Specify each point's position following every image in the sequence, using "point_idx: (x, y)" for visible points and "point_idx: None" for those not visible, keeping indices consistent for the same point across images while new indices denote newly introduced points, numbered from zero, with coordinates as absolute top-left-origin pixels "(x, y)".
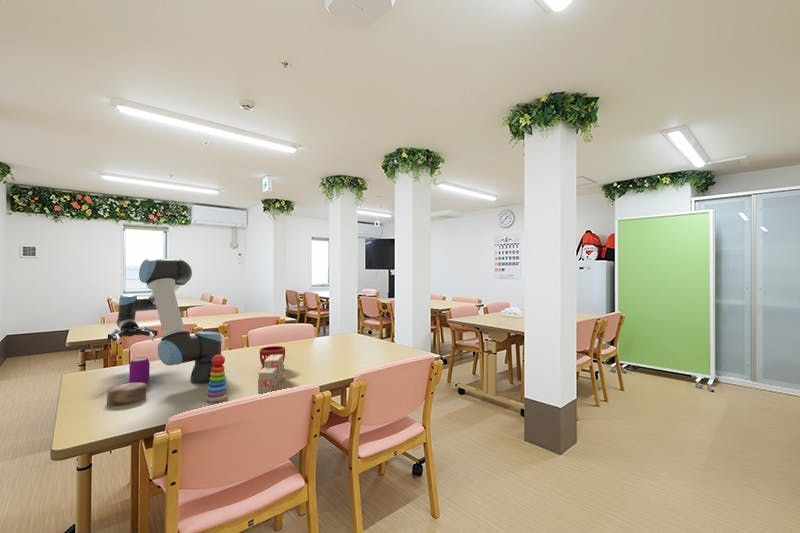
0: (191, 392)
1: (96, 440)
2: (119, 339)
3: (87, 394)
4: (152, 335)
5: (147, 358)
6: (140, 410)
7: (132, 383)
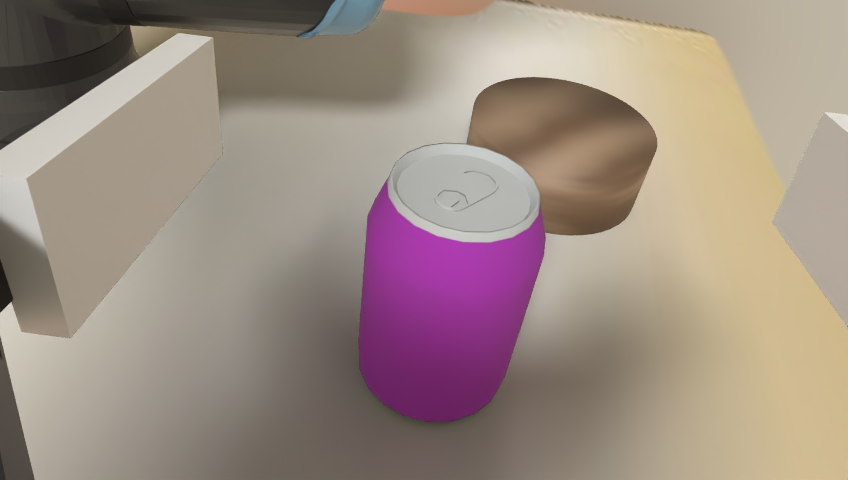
0: (291, 84)
1: (638, 22)
2: (814, 140)
3: (770, 407)
4: (208, 37)
5: (400, 159)
6: (519, 75)
7: (532, 152)
